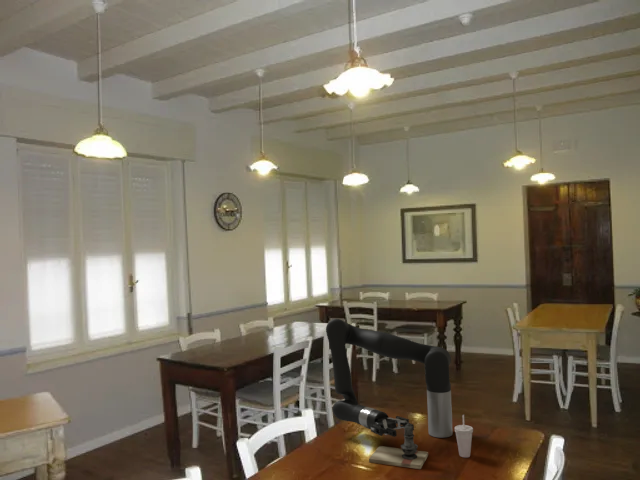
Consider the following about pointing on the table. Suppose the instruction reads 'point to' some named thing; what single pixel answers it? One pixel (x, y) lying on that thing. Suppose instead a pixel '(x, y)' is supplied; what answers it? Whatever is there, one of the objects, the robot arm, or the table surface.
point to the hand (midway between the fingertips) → (404, 430)
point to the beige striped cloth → (397, 457)
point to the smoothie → (464, 439)
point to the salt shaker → (409, 444)
